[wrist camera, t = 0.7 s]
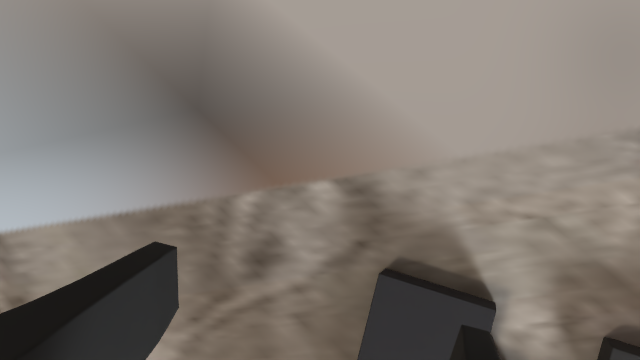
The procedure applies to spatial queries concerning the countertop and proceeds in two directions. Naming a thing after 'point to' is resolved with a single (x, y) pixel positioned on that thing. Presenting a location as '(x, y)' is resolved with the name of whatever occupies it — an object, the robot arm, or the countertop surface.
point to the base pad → (618, 350)
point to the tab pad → (419, 319)
